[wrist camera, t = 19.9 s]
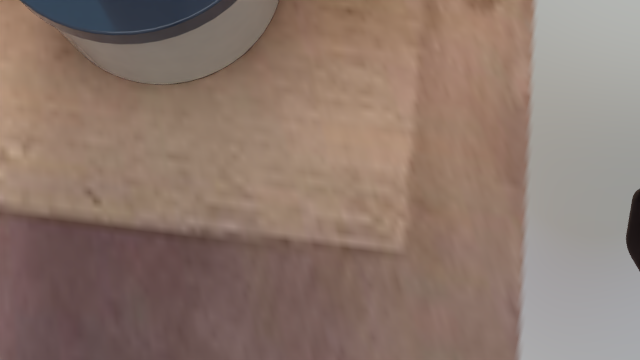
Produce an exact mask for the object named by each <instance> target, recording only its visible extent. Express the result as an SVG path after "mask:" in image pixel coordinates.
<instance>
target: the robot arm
mask: <svg viewBox="0 0 640 360" xmlns="http://www.w3.org/2000/svg"><path fill="white" fill-rule="evenodd" d="M626 243H627V248H628V251H629V253H630V255H631V257H632V259H633V260H634V262H635V264H636V266H637V267H638V269H639V271H640V189H639V190H637V191H636V192H635V194H634V195H633V199H632V204H631V211H630V216H629V222H628V229H627V235H626Z"/></svg>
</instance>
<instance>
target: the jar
mask: <svg viewBox="0 0 640 360" xmlns="http://www.w3.org/2000/svg"><path fill="white" fill-rule="evenodd" d="M20 1H21V2H22V3H23V4H24V5H25V6H26V7H27V8H28V9H29V10H30V11H31V12H32V13H34V14H35V15H36V16H38V17H39V18H41V19H42V20H43V21H45V22H46V23H48V24H50V25H52V26H53V27H55V28H57V29H58V30H59V31H60V32H61V33H62V34H63V35H64V36H65V37H66V38H67V39H68V40H69V41H70V42H71V43H72V44H73V45H74V46H75V48H76V49H78V50H79V51H80V52H81V53H82V54H83V55H84V56H85V57H86V58H87V59H88V60H90V61H91V62H92V63H94V64H95V65H97V66H98V67H99V68H101V69H103V70H105V71H107V72H109V73H111V74H113V75H116V76H118V77H121V78H124V79H127V80H131V81H135V82H140V83H148V84H175V83H181V82H188V81H192V80H195V79H199V78H202V77H205V76H207V75H210V74H212V73H215V72H217V71H219V70H221V69H222V68H224V67H226V66H228V65H229V64H231V63H232V62H234V61H235V60H236V59H238V58H239V57H240V56H242V55H243V54H244V53H245V52H246V51H247V50H248V49H249V48H250V47H252V46H253V45H254V44H255V42H256V41H257V40H258V39H259V37H260V36H261V35H262V34H263V32H264V31H265V29H266V28H267V26H268V24H269V23H270V21H271V19H272V17H273V15H274V12H275V10H276V8H277V5H278V1H279V0H20Z"/></svg>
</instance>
